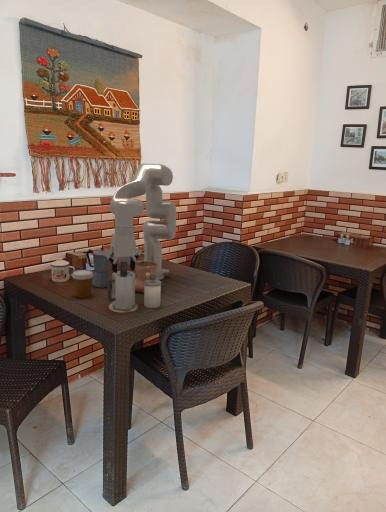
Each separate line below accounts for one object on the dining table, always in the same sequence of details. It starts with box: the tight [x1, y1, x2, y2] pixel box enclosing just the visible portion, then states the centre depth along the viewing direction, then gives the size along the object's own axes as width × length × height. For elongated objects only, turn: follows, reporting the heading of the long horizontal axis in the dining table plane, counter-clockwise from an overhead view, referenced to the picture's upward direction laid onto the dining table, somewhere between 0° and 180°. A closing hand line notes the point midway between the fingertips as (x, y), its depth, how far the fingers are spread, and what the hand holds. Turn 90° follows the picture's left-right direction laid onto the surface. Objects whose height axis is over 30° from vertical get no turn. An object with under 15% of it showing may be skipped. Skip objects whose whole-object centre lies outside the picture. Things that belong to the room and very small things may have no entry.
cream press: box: [143, 273, 162, 309], centre depth 175 cm, size 8×8×16 cm
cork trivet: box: [108, 302, 139, 313], centre depth 173 cm, size 13×13×1 cm
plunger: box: [119, 261, 128, 275], centre depth 170 cm, size 3×3×18 cm
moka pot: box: [85, 246, 113, 288], centre depth 199 cm, size 10×15×20 cm, turn 78°
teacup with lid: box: [50, 257, 76, 283], centre depth 206 cm, size 12×9×12 cm
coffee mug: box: [117, 257, 131, 266], centre depth 244 cm, size 13×10×10 cm
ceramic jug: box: [134, 259, 158, 294], centre depth 195 cm, size 18×14×14 cm
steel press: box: [106, 270, 136, 311], centre depth 171 cm, size 12×10×15 cm
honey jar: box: [71, 269, 94, 299], centre depth 183 cm, size 10×10×12 cm
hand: (123, 270), depth 169 cm, fingers open, 7 cm apart
